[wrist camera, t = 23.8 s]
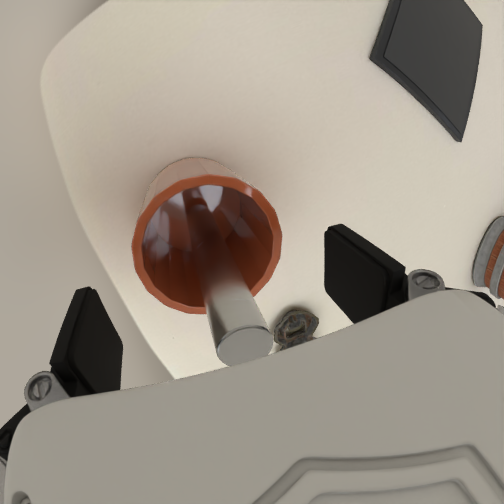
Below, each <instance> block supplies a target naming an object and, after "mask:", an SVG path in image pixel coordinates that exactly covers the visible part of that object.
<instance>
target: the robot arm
mask: <svg viewBox="0 0 504 504" xmlns="http://www.w3.org/2000/svg"><path fill="white" fill-rule="evenodd" d="M324 248H325V272H324V287H325V290H326V293H327V294H328V295H329V296H330V297H331V298H332V300H333V301H334V302H335V303H336V304H337V305H338V306H339V307H340V309H341V310H342V311H343V312H344V313H345V314H346V315H347V316H348V318H349V319H350V320H351V321H352V322H353V323H354V324H353V325H351V326H348V327H346V328H343V329H341V330H338V331H335V332H333V333H330V334H327V335H325V336H322V337H319V338H317V339H314V340H311V341H308V342H306V343H303V344H300V345H297V346H294V347H291V348H288V349H285V350H282V351H279V352H276V353H273V354H270V355H267V356H263V357H260V358H257V359H254V360H250V361H247V362H243V363H240V364H236V365H233V366H229V367H225V368H222V369H218V370H214V371H210V372H206V373H202V374H198V375H193V376H189V377H185V378H180V379H176V380H171V381H166V382H162V383H157V384H152V385H146V386H141V387H135V388H130V389H124V390H120V384H121V368H122V355H123V344H122V341H121V339H120V337H119V335H118V333H117V331H116V329H115V328H114V326H113V324H112V322H111V320H110V318H109V316H108V314H107V312H106V310H105V308H104V306H103V304H102V302H101V299H100V297H99V295H98V293H97V291H96V290H95V289H92V288H91V287H85V288H81V289H77V290H76V291H75V294H74V296H73V299H72V301H71V304H70V306H69V308H68V311H67V314H66V316H65V319H64V321H63V324H62V327H61V330H60V333H59V335H58V338H57V341H56V344H55V347H54V350H53V353H52V356H51V360H50V365H51V366H52V367H51V371H50V372H49V371H42V372H39V373H37V374H35V375H34V376H33V377H32V378H30V379H29V381H28V382H27V384H26V387H25V389H24V396H25V399H26V401H27V404H26V405H25V406H24V407H23V408H22V409H21V410H20V411H19V412H17V413H16V414H15V415H14V416H13V417H12V418H11V419H10V420H9V421H8V422H7V423H6V424H5V425H4V426H3V427H2V428H1V429H0V504H504V307H503V306H500V305H498V307H497V308H496V306H495V303H494V301H493V300H492V299H491V298H490V297H489V296H488V295H487V294H485V293H483V292H474V291H467V290H460V289H453V288H447V287H445V285H444V281H443V279H442V278H441V277H440V276H439V275H438V274H437V273H435V272H433V271H430V270H425V269H418V270H414V271H412V272H410V273H409V275H408V276H407V275H406V274H405V268H406V267H405V266H403V265H402V264H401V263H399V262H398V261H396V260H395V259H394V258H392V257H391V256H389V255H388V254H387V253H385V252H384V251H382V250H381V249H379V248H378V247H376V246H375V245H373V244H372V243H371V242H369V241H368V240H366V239H365V238H363V237H362V236H360V235H359V234H357V233H356V232H354V231H353V230H351V229H350V228H348V227H346V226H345V225H343V224H338V225H334V226H329V227H328V229H327V231H325V233H324Z"/></svg>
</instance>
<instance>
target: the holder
mask: <svg viewBox="0 0 504 504" xmlns="http://www.w3.org/2000/svg"><path fill="white" fill-rule="evenodd" d="M195 205H204V206H206V207H208V208H209V209H210V211H211V213H212V215H213V217H214V219H215V221H216V223H217V225H218V228H219V230H220V232H221V234H222V236H223V238H224V240H225V242H226V244H227V246H228V248H229V250H230V252H231V254H232V256H233V258H234V260H235V262H236V264H237V266H238V268H239V270H240V272H241V274H242V276H243V278H244V280H245V282H246V284H247V286H248V288H249V290H250V292H251V294H252V296H253V297H254V296H255V295H256V294H257V293H258V292H259V291H260V290H261V289H262V288H263V287H264V286H265V284H266V283H267V282H268V281H269V280H270V278H271V277H272V275H273V272H274V270H275V268H276V266H277V264H278V261H279V259H280V254H281V243H282V231H281V228H280V224H279V221H278V218H277V214H276V212H275V210H274V208H273V207H272V206H271V204H270V203H269V202H268V201H267V199H266V198H265V197H264V196H263V194H262V193H261V192H260V191H259V190H258V189H256V188H255V187H253V186H252V185H251V184H249V183H248V182H247V181H245V180H244V179H243V178H241V177H240V176H238V175H237V174H236V173H234V172H233V171H232V170H230V169H229V168H227V167H225V166H223V165H222V164H220V163H218V162H216V161H214V160H210V159H206V158H186V159H182V160H179V161H177V162H174V163H172V164H170V165H169V166H167V167H166V168H164V169H163V170H162V171H161V172H160V173H159V174H158V175H157V176H156V177H155V179H154V180H153V181H152V183H151V185H150V186H149V188H148V190H147V193H146V196H145V199H144V202H143V205H142V208H141V211H140V214H139V217H138V220H137V224H136V228H135V232H134V236H133V240H132V246H131V247H132V254H133V261H134V267H135V270H136V273H137V274H138V276H139V278H140V280H141V281H142V283H143V285H144V286H145V288H146V290H147V291H148V292H149V293H150V294H152V295H153V296H154V297H155V298H157V299H158V300H159V301H160V302H162V303H163V304H164V305H166V306H168V307H171V308H173V309H176V310H179V311H182V312H185V313H189V314H207V313H206V309H205V305H204V300H203V296H202V292H201V287H200V283H199V278H198V274H197V269H196V265H195V260H194V255H193V250H192V245H191V240H190V235H189V230H188V225H187V220H186V215H187V212H188V210H189V209H190V208H191V207H193V206H195Z"/></svg>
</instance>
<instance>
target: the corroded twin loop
mask: <svg viewBox="0 0 504 504" xmlns="http://www.w3.org/2000/svg"><path fill="white" fill-rule="evenodd" d="M302 321H304V323H305V329H304V330H303V331H299V332H297V333H295V334H292V335H290V336H289V337H286V333H285V330H286V328H287V327H288V330H289V332H294V331H297V330H299V329H300V328H302ZM318 324H319V319H318V318H317V317H316V316H315V315H314V314H312V313H309V312H306V311H295V310H293V311H290V312H288V313H287V314H286V315H285V316H284V317H283V318H282V322H281V323H279V324H278V325H277V326H276V328H275V331H274V333H275V335H274V341H275V342H276V343H278V344H279V345H283V346H282V349H281V350H280V351H282V350H285V349H288V348H291V347H294V346H297V345H300V344H303V343H306V342H308V341H311V340H314V339H317V338H315V337H312V335H313V333H314V332H315V330H316V328H317V326H318Z"/></svg>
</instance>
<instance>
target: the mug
mask: <svg viewBox="0 0 504 504" xmlns="http://www.w3.org/2000/svg"><path fill="white" fill-rule="evenodd" d="M473 279H474V284H475V285H476V286H477V287H488V288H489V289H490V293H491V294H492V295H493V296H495V297H496V298H497V299H500V298H503V299H504V217H500V218H498V219H496V220H495V221H494V222H493V223H492V224H491V225H490V227H489V228H488V230H487V232H486V234H485V235H484V237H483V240H482V242H481V244H480V247H479V249H478V252H477V255H476V259H475V263H474V268H473Z"/></svg>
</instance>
